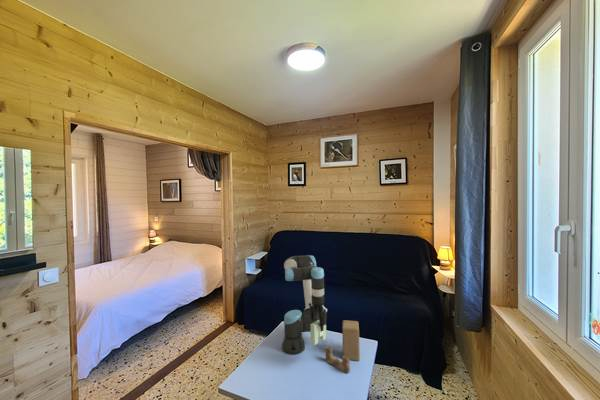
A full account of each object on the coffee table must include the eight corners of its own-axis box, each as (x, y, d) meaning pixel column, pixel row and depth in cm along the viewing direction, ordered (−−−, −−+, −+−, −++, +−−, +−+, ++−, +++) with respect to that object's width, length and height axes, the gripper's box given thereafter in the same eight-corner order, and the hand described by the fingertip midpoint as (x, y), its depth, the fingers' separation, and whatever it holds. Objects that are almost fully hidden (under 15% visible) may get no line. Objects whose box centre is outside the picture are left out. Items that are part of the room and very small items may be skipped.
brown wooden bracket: (325, 360, 151) (325, 347, 151) (328, 359, 152) (327, 346, 152) (347, 374, 139) (347, 359, 139) (349, 372, 140) (349, 358, 140)
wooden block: (359, 361, 149) (359, 328, 149) (342, 359, 151) (342, 327, 151) (359, 351, 159) (358, 320, 159) (343, 350, 161) (342, 319, 161)
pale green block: (314, 345, 141) (314, 326, 141) (310, 343, 143) (310, 324, 143) (326, 338, 148) (325, 319, 148) (322, 336, 150) (322, 318, 150)
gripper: (303, 292, 148) (304, 331, 149) (324, 300, 137) (324, 342, 137) (312, 289, 153) (313, 327, 154) (332, 296, 142) (333, 337, 142)
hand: (318, 334), depth 145 cm, fingers closed on pale green block, 3 cm apart
